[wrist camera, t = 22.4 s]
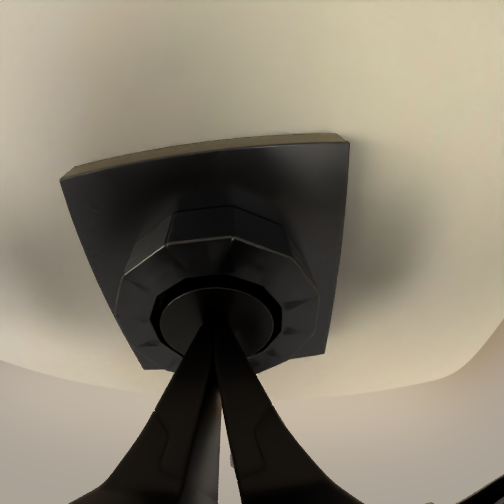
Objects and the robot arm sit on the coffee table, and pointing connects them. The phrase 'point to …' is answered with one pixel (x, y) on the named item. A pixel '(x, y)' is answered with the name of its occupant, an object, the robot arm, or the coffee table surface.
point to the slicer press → (217, 233)
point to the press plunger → (217, 311)
